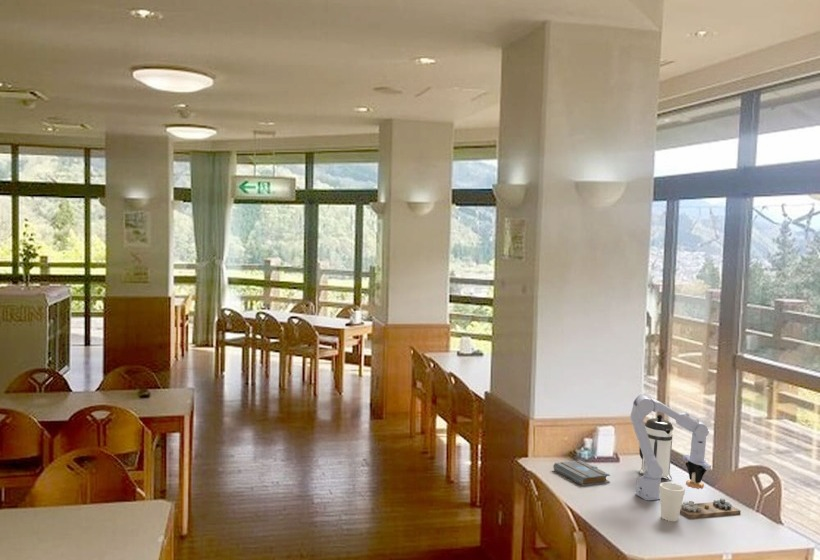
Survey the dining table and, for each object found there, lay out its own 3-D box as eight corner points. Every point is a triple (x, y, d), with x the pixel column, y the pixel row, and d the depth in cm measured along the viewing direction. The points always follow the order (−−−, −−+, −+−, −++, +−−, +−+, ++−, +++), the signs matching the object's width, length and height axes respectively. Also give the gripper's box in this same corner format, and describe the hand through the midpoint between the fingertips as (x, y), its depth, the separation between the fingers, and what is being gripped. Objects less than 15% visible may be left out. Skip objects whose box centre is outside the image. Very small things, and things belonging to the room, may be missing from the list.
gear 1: (689, 513, 280) (690, 505, 279) (678, 506, 286) (678, 499, 286) (703, 511, 282) (704, 504, 282) (691, 505, 288) (692, 498, 288)
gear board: (689, 518, 278) (689, 512, 278) (672, 509, 287) (672, 502, 287) (740, 514, 286) (740, 507, 286) (722, 504, 296) (722, 498, 295)
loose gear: (693, 489, 293) (694, 476, 293) (682, 483, 300) (683, 471, 300) (707, 488, 296) (708, 475, 295) (695, 482, 302) (696, 470, 302)
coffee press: (675, 475, 330) (680, 414, 329) (667, 484, 317) (673, 420, 315) (638, 467, 340) (643, 407, 338) (629, 476, 326) (634, 413, 324)
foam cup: (670, 524, 271) (672, 492, 270) (652, 515, 279) (654, 483, 278) (687, 521, 275) (689, 489, 274) (668, 512, 283) (671, 481, 283)
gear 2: (721, 510, 285) (722, 503, 285) (709, 503, 291) (709, 497, 291) (734, 509, 287) (735, 502, 287) (722, 502, 294) (723, 495, 293)
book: (552, 471, 328) (553, 461, 327) (581, 468, 335) (581, 458, 334) (581, 487, 309) (581, 476, 308) (610, 483, 315) (611, 472, 315)
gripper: (717, 455, 291) (714, 486, 292) (693, 444, 305) (690, 474, 306) (704, 455, 289) (701, 487, 290) (680, 445, 303) (677, 475, 303)
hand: (695, 481), depth 298 cm, fingers closed on loose gear, 3 cm apart
